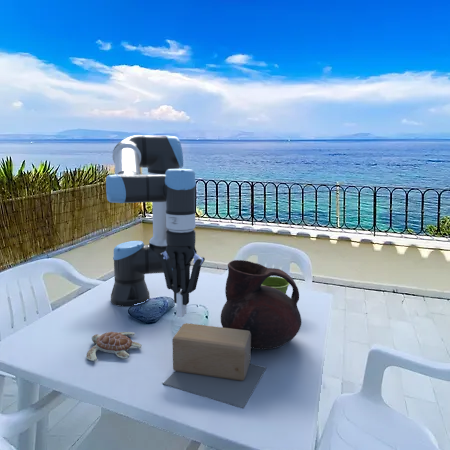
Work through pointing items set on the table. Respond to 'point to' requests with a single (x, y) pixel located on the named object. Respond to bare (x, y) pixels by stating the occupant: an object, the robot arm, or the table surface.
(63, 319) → the table surface
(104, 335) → the decorative turtle
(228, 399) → the mat
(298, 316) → the jug
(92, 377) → the table surface
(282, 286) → the plant pot
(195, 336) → the wooden block
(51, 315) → the table surface
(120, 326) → the table surface
